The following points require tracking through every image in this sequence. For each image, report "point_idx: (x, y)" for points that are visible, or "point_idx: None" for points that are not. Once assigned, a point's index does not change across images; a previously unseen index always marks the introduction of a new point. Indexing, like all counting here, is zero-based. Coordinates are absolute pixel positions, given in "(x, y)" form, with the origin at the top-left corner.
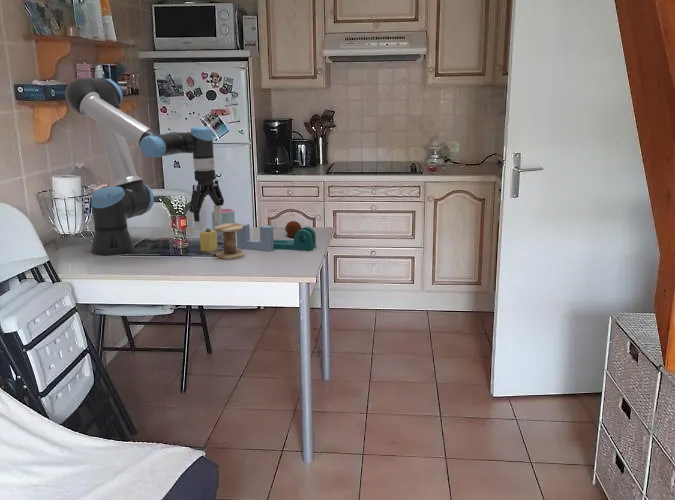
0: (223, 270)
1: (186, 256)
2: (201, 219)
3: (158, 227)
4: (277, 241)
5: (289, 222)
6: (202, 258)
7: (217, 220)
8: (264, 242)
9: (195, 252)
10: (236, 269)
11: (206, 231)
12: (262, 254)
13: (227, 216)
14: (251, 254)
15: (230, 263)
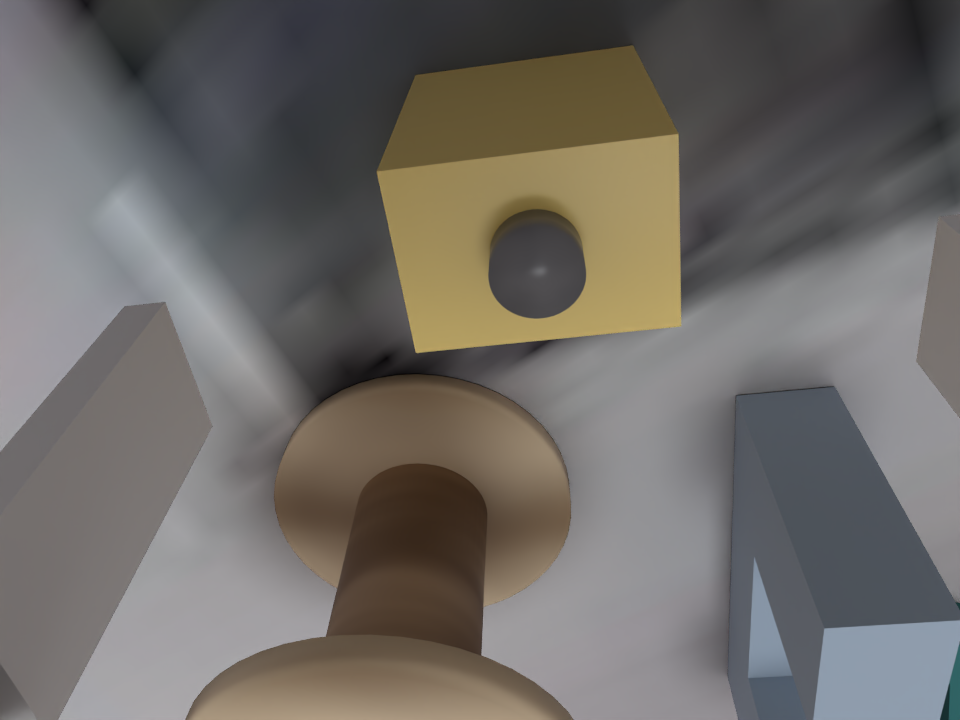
0: None
1: (91, 94)
2: (120, 579)
3: None
4: (949, 697)
5: None
6: None
7: (946, 313)
8: (747, 712)
9: (310, 62)
10: (133, 707)
11: (488, 256)
12: (599, 672)
13: None
14: (557, 611)
15: (220, 612)
